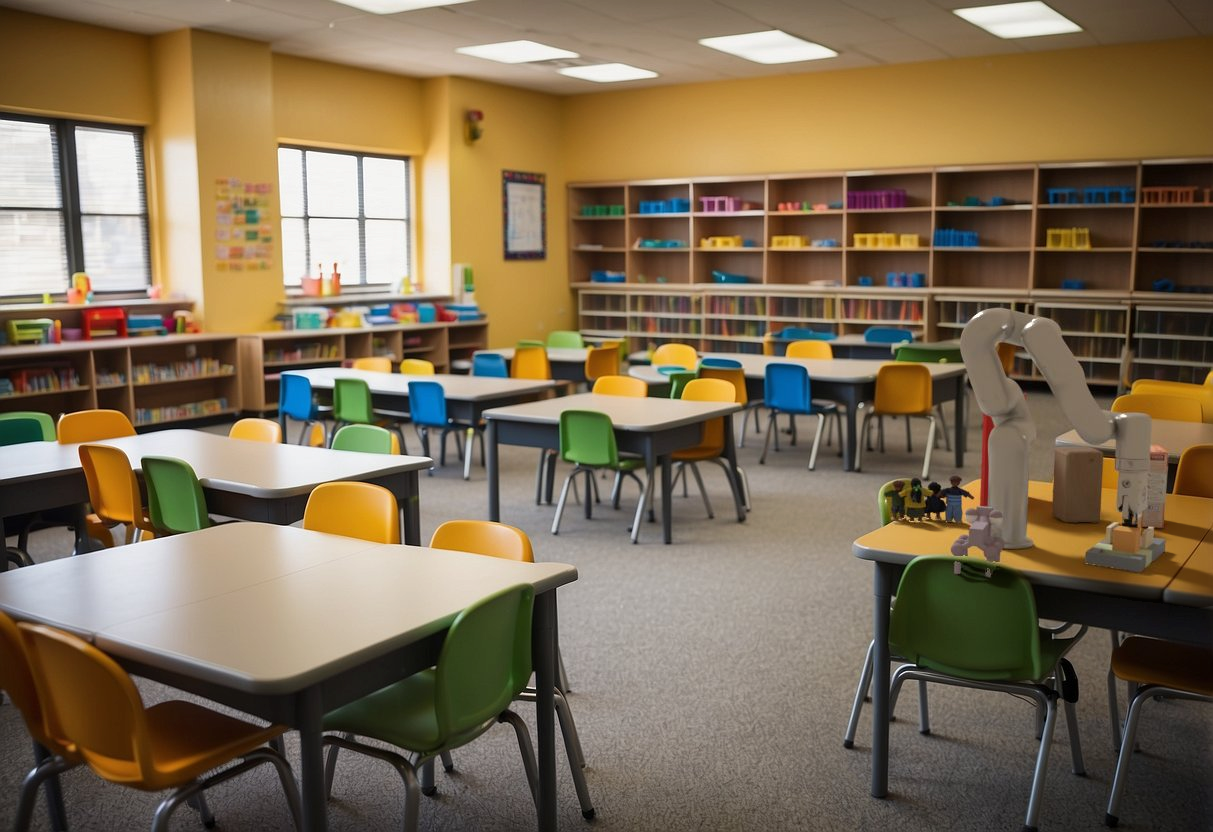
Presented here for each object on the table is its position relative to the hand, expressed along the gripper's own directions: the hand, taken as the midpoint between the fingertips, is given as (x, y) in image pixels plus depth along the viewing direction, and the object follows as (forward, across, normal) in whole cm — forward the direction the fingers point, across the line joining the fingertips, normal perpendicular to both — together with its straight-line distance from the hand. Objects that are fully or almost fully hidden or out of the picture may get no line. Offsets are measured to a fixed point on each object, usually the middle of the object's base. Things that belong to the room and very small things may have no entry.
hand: (1129, 539), depth 260 cm
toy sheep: (+4, -29, +26) cm, 39 cm away
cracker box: (+5, +42, +5) cm, 42 cm away
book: (+4, +44, +46) cm, 64 cm away
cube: (+1, -5, 0) cm, 5 cm away
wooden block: (+4, +34, +22) cm, 41 cm away
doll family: (+4, +8, +54) cm, 55 cm away
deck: (+4, 0, 0) cm, 4 cm away
